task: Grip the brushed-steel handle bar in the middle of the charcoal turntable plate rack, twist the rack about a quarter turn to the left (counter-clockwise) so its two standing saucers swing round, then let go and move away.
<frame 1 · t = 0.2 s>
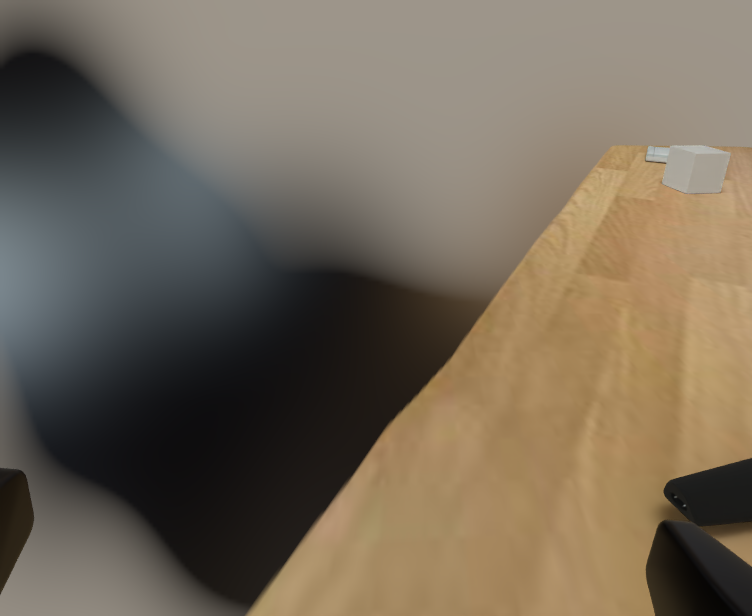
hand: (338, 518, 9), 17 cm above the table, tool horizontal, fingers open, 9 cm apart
light grey cube: (690, 189, 98), on the table
hard drive: (681, 162, 117), on the table
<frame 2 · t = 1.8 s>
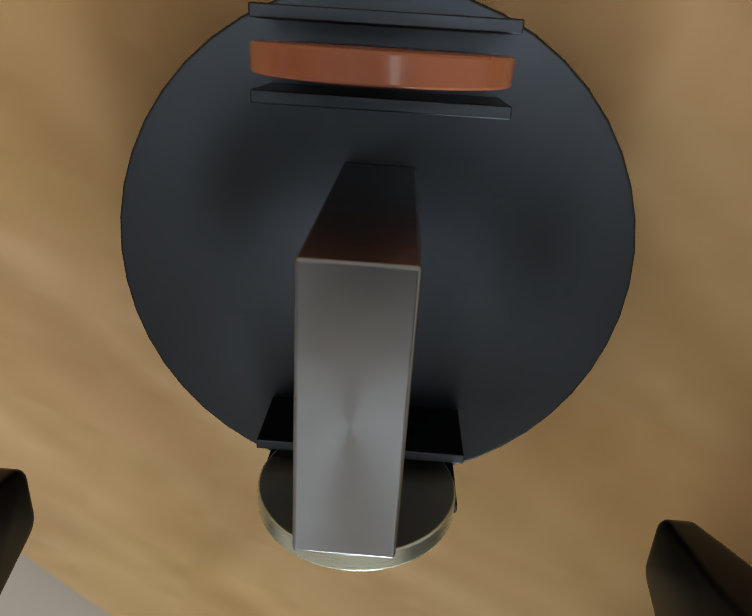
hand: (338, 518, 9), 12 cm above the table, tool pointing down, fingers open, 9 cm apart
rack: (365, 319, 15), point 5 cm above the table, hinge at 0.0°, touching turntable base
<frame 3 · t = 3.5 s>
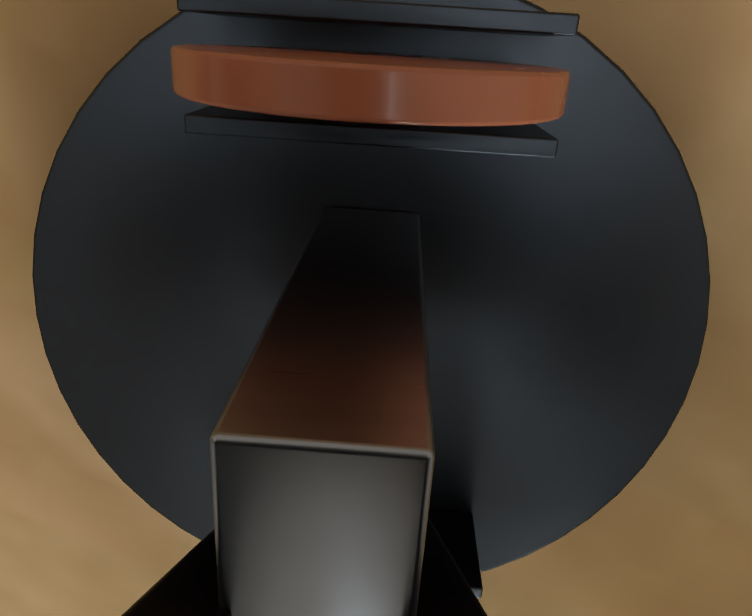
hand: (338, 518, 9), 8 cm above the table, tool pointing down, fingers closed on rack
rack: (350, 434, 11), point 5 cm above the table, hinge at 0.0°, touching gripper, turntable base
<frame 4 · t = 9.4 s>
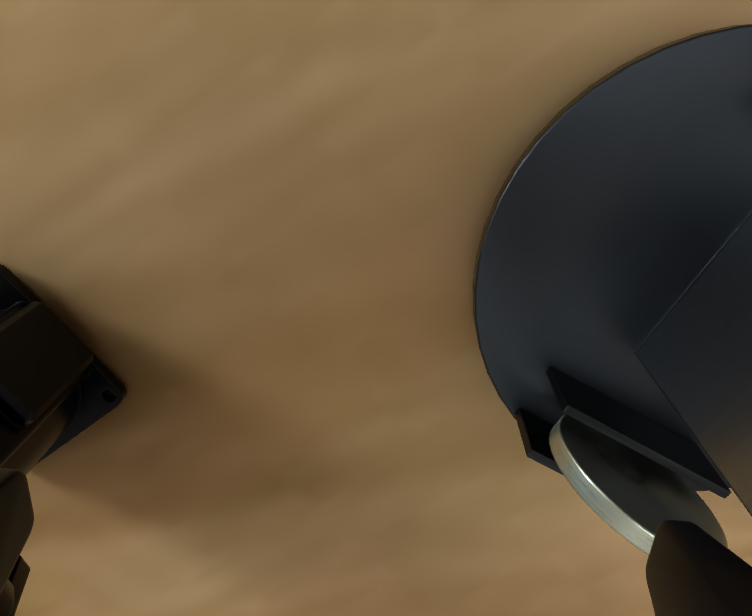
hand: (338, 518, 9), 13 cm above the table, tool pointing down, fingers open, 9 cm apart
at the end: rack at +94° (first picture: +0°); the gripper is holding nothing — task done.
